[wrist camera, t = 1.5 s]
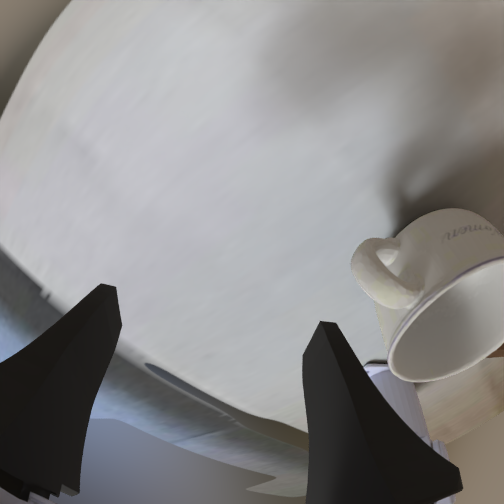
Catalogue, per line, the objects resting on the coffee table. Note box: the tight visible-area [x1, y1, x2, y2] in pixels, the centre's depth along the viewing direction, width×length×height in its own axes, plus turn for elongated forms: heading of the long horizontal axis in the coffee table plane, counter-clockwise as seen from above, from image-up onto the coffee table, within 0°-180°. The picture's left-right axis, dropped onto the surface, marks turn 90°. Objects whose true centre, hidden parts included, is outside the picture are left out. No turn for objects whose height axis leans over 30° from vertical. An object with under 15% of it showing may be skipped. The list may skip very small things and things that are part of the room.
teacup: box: [351, 208, 504, 382], centre depth 16 cm, size 14×11×8 cm
